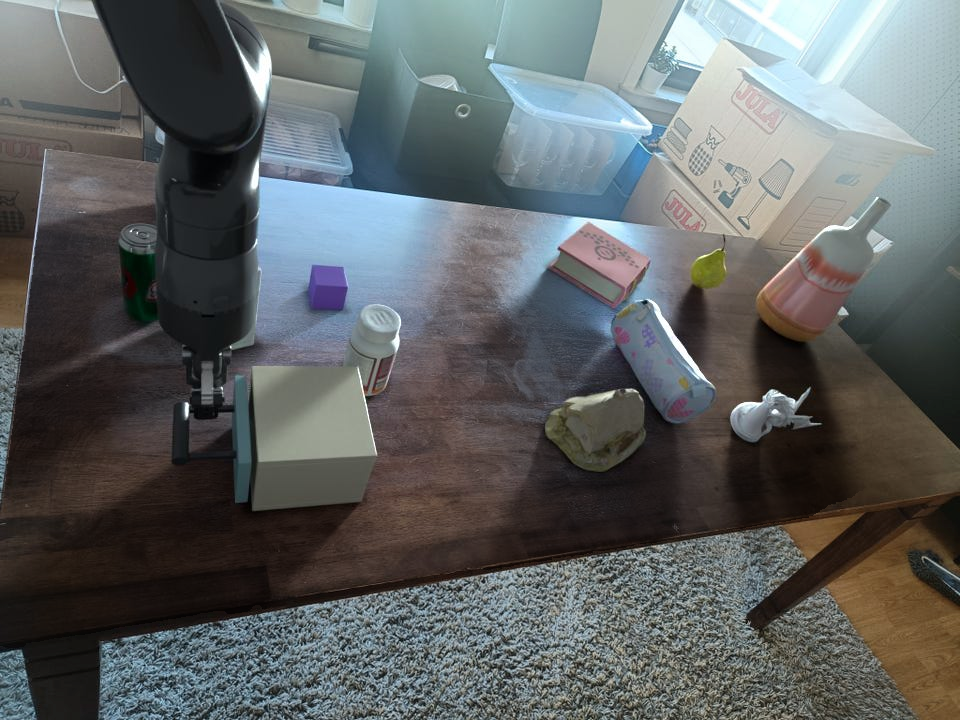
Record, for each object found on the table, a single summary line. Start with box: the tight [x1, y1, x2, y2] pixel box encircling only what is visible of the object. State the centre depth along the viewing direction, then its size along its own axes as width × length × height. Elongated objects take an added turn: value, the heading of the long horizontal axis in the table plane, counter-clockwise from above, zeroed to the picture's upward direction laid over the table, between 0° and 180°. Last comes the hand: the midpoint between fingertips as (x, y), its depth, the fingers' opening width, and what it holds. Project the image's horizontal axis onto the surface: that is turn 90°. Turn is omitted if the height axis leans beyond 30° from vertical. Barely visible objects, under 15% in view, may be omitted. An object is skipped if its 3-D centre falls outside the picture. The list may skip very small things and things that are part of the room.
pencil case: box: [610, 298, 717, 425], centre depth 100 cm, size 21×9×10 cm, turn 16°
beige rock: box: [544, 387, 647, 473], centre depth 86 cm, size 14×11×10 cm
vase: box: [755, 196, 892, 343], centre depth 120 cm, size 14×14×30 cm
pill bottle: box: [342, 303, 402, 397], centre depth 80 cm, size 6×6×11 cm
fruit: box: [689, 233, 727, 290], centre depth 127 cm, size 7×7×12 cm
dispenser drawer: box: [171, 375, 252, 504], centre depth 67 cm, size 16×11×7 cm
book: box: [547, 221, 652, 310], centre depth 119 cm, size 14×15×5 cm
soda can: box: [117, 222, 159, 323], centre depth 76 cm, size 5×5×12 cm
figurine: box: [729, 386, 821, 443], centre depth 96 cm, size 11×8×12 cm
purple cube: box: [308, 264, 349, 311], centre depth 91 cm, size 4×4×4 cm
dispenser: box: [248, 365, 378, 512], centre depth 69 cm, size 12×13×9 cm
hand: (205, 413), depth 62 cm, fingers closed
